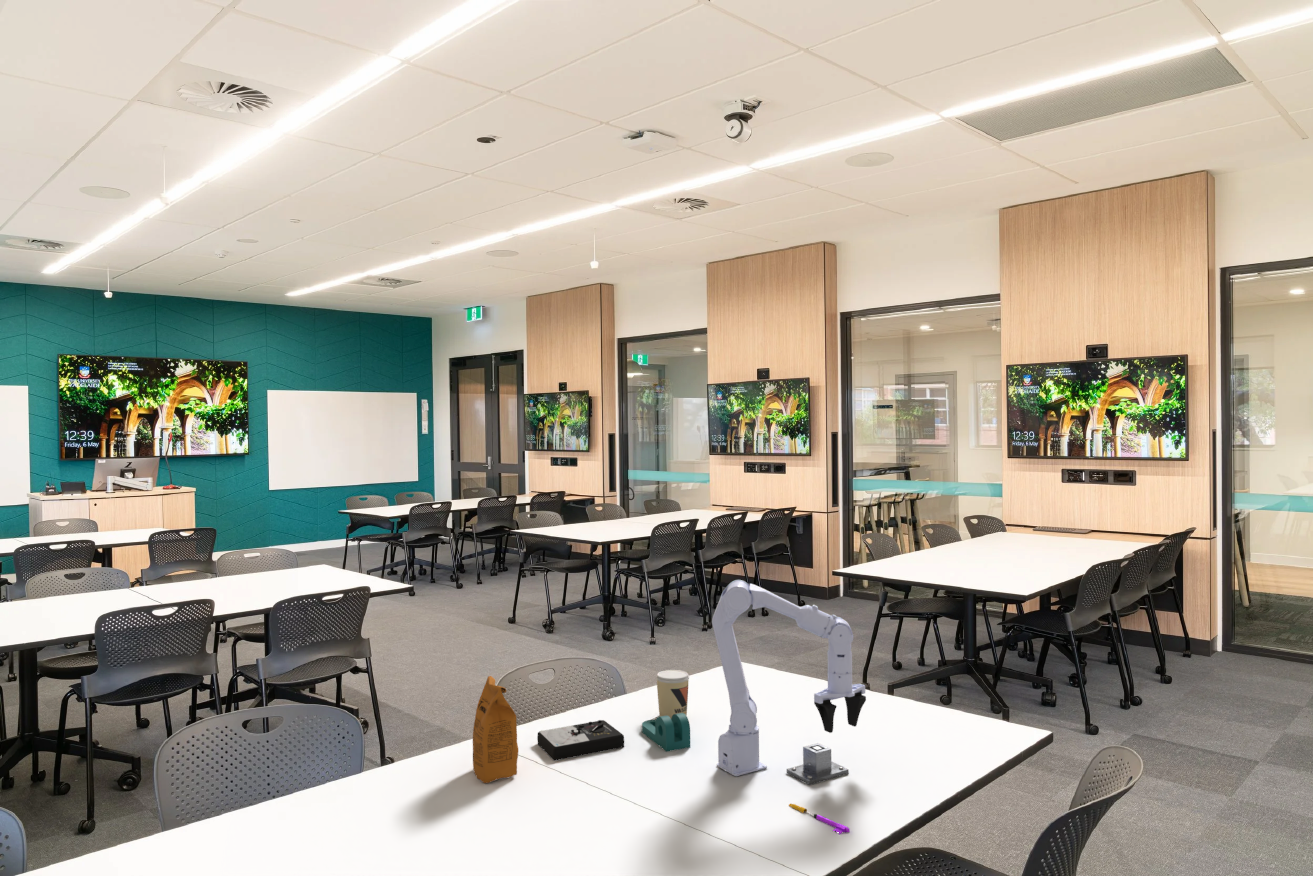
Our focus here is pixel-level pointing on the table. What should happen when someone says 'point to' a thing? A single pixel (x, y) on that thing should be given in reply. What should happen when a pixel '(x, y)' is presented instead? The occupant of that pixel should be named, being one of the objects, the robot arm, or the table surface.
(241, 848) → the table surface
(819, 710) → the robot arm
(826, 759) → the tube
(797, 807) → the purple and orange rod
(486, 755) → the coffee package
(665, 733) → the bracket
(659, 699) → the coffee cup
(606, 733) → the black printed box
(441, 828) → the table surface
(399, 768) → the table surface
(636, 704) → the table surface
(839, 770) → the plate
